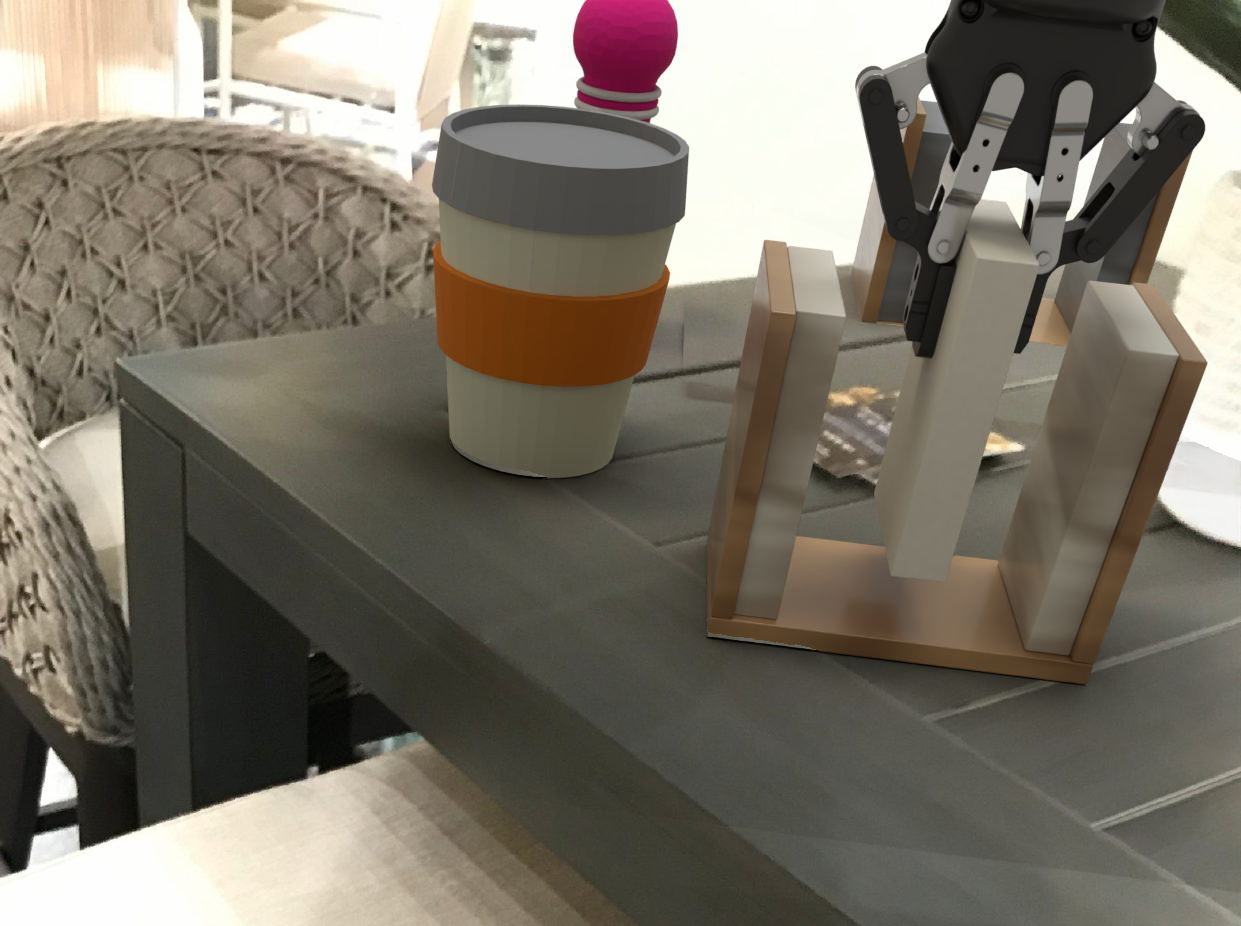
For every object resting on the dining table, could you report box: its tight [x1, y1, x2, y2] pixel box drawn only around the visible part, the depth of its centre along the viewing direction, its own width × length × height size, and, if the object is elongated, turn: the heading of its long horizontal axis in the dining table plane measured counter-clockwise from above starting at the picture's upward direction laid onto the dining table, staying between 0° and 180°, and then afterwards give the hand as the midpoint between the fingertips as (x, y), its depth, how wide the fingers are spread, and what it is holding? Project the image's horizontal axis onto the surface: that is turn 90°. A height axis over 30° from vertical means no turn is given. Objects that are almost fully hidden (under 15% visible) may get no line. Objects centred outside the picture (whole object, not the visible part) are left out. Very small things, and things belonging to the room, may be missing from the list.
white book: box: [873, 198, 1039, 583], centre depth 69 cm, size 2×9×13 cm, turn 173°
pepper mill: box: [572, 0, 679, 123], centre depth 97 cm, size 7×7×20 cm
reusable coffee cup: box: [431, 104, 690, 479], centre depth 83 cm, size 13×13×15 cm
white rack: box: [705, 239, 1208, 685], centre depth 71 cm, size 17×10×14 cm, turn 83°
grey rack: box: [850, 96, 1194, 347], centre depth 105 cm, size 17×10×13 cm, turn 83°
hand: (958, 354), depth 68 cm, fingers closed on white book, 2 cm apart
